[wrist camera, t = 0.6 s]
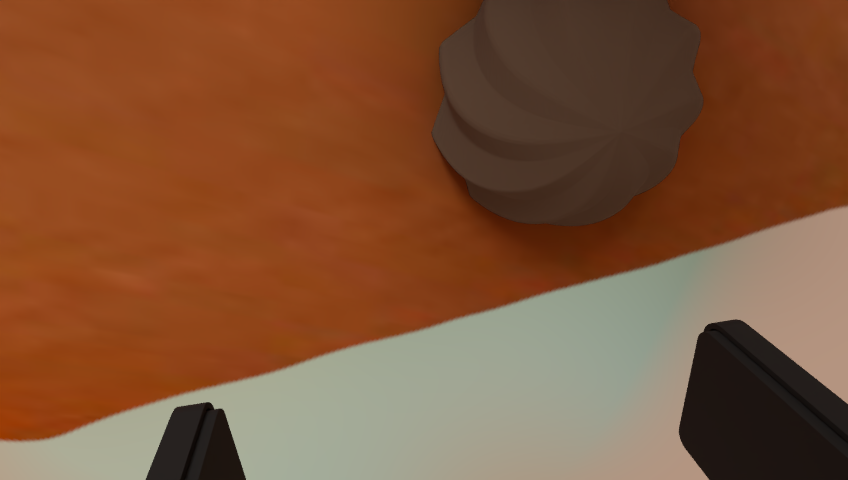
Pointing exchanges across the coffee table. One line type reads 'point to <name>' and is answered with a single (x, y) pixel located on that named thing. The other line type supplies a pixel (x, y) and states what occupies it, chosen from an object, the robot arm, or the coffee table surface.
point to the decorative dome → (566, 104)
